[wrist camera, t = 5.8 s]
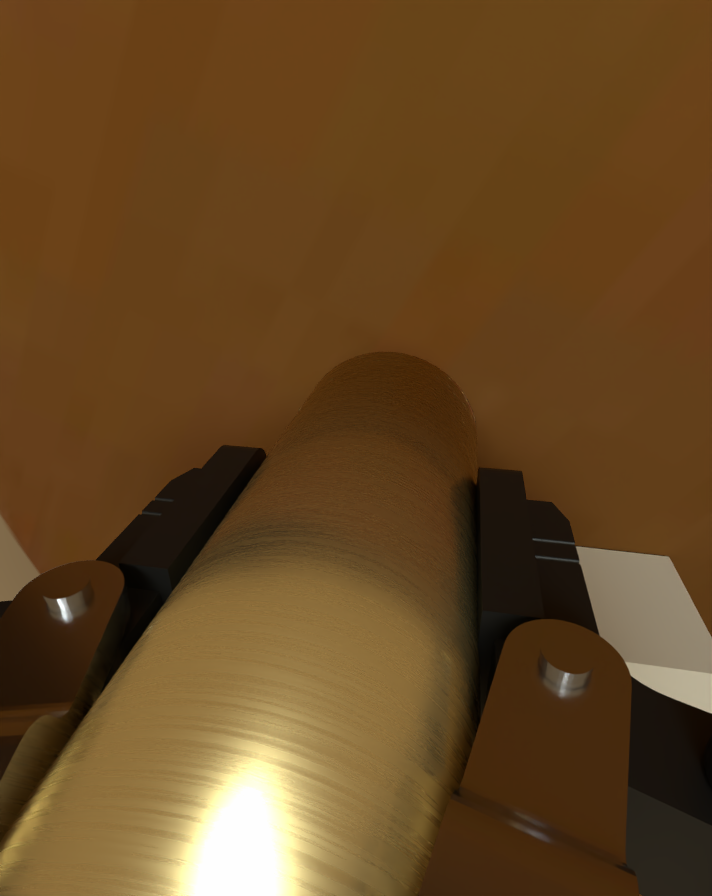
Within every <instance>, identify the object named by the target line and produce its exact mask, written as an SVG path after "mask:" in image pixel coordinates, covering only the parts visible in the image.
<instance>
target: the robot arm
mask: <svg viewBox="0 0 712 896" xmlns="http://www.w3.org/2000/svg"><path fill="white" fill-rule="evenodd" d="M265 459H266V453H265V451H264V450H263V449H262V448H252V447H240V446H229V445H223V446H221V447H220V448H219V449H218V451H217V452H216V453H215V454H214V455H213V456H212V457H211V458H210V460H209V461H208V462H207V463H206V464H205V465H204V466H203V467H202V469H199V468H193V469H191V470H190V471H188V472H186V473H184V474H182V475H181V476H179V477H177V478H175V479H173V480H171V481H170V482H169V483H168V484H167V485H166V486H165V487H164V488H163V490H162V491H161V492H160V493H159V494H158V495H157V496H156V497H155V501H151V502H150V503H149V504H148V505H147V506H146V507H145V509H144V510H143V511H142V515H140V514H139V515H138V516H137V517H136V518H135V519H134V520H133V521H132V522H131V523H130V524H129V525H128V526H127V528H126V529H125V530H124V531H123V532H122V533H121V534H120V535H119V536H118V537H117V538H116V539H115V540H114V541H113V542H112V543H111V544H110V545H109V547H108V548H107V549H106V550H105V551H104V552H103V553H102V554H101V555H100V556H99V557H98V558H97V559H96V560H87V561H78V562H73V563H68V564H65V565H62V566H59V567H56V568H53V569H51V570H49V571H47V572H45V573H43V574H41V575H39V576H38V577H36V578H34V579H33V580H32V581H30V582H29V583H28V584H27V585H25V586H24V587H23V588H22V589H21V590H20V591H19V593H18V594H17V595H16V596H15V598H14V599H13V600H12V601H2V602H0V842H1V840H2V839H3V837H4V835H5V834H6V832H7V831H8V829H9V827H10V826H11V824H12V823H13V821H14V820H15V818H16V816H17V815H18V813H19V812H20V810H21V809H22V807H23V805H24V804H25V802H26V801H27V799H28V797H29V796H30V794H31V793H32V791H33V790H34V789H35V787H36V786H37V784H38V783H39V781H40V780H41V779H42V777H43V776H44V774H45V773H46V771H47V770H48V769H49V767H50V766H51V764H52V763H53V761H54V760H55V759H56V757H57V756H58V754H59V753H60V751H61V750H62V749H63V747H64V746H65V744H66V743H67V741H68V740H69V739H70V737H71V736H72V734H73V733H74V731H75V730H76V729H77V727H78V726H79V724H80V723H81V721H82V720H83V719H84V717H85V716H86V714H87V713H88V711H89V710H90V709H91V707H92V706H93V704H94V703H95V701H96V700H97V699H98V697H99V696H100V694H101V693H102V691H103V690H104V689H105V687H106V686H107V684H108V683H109V681H110V680H111V679H112V677H113V676H114V674H115V673H116V671H117V670H118V669H119V667H120V666H121V664H122V663H123V661H124V660H125V659H126V657H127V656H128V654H129V653H130V651H131V650H132V649H133V647H134V646H135V644H136V643H137V641H138V640H139V639H140V637H141V636H142V634H143V633H144V631H145V630H146V629H147V627H148V626H149V624H150V623H151V621H152V620H153V619H154V617H155V616H156V614H157V613H158V611H159V610H160V609H161V607H162V606H163V604H164V603H165V601H166V600H167V599H168V597H169V596H170V594H171V593H172V591H173V590H174V589H175V587H176V586H177V584H178V583H179V581H180V580H181V579H182V577H183V576H184V574H185V573H186V571H187V570H188V569H189V567H190V566H191V564H192V563H193V561H194V560H195V559H196V557H197V556H198V554H199V553H200V551H201V550H202V549H203V547H204V546H205V544H206V543H207V541H208V540H209V539H210V537H211V536H212V534H213V533H214V531H215V530H216V529H217V527H218V526H219V524H220V523H221V521H222V520H223V519H224V517H225V516H226V514H227V513H228V511H229V510H230V509H231V507H232V506H233V504H234V503H235V501H236V500H237V499H238V497H239V496H240V494H241V493H242V491H243V490H244V489H245V487H246V486H247V484H248V483H249V481H250V480H251V479H252V477H253V476H254V474H255V473H256V471H257V470H258V469H259V467H260V466H261V464H262V463H263V461H264V460H265ZM476 517H477V635H478V653H479V660H480V709H481V720H480V724H479V727H478V730H477V733H476V737H475V740H474V743H473V746H472V750H471V753H470V756H469V759H468V763H467V766H466V769H465V772H464V775H463V778H462V781H461V784H460V787H459V789H458V790H456V789H455V790H454V792H453V793H452V795H451V798H450V800H449V802H448V805H447V808H446V811H445V813H444V816H443V819H442V822H441V825H440V828H439V832H438V835H437V838H436V841H435V844H434V847H433V850H432V853H431V857H430V860H429V863H428V866H427V869H426V872H425V875H424V879H423V882H422V885H421V888H420V891H419V894H418V896H639V894H641V895H643V896H712V714H711V713H709V712H706V711H703V710H701V709H698V708H696V707H693V706H691V705H688V704H686V703H683V702H681V701H678V700H675V699H673V698H670V697H668V696H666V695H663V694H661V693H659V692H657V691H655V690H653V689H651V688H649V687H647V686H646V685H644V684H642V683H641V682H639V681H638V680H636V679H635V678H633V677H632V676H631V675H630V672H629V669H628V667H627V665H626V663H625V661H624V659H623V658H622V657H621V655H620V654H619V653H618V651H617V650H616V649H615V648H614V647H613V646H612V645H611V644H610V643H608V642H607V641H606V640H604V639H603V638H602V637H600V635H599V631H598V627H597V624H596V620H595V616H594V612H593V609H592V605H591V601H590V597H589V594H588V590H587V586H586V582H585V579H584V575H583V571H582V567H581V564H579V556H578V552H577V549H576V546H574V544H575V541H574V537H573V534H572V530H571V526H570V522H569V520H568V519H567V518H566V517H565V516H564V515H563V514H562V513H561V512H560V511H559V510H558V509H557V508H556V506H555V505H554V504H553V503H552V502H544V501H533V500H526V494H525V487H524V481H523V475H522V471H514V470H503V469H491V468H480V467H479V469H478V475H477V483H476Z"/></svg>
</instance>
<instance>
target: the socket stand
mask: <svg viewBox="0 0 712 896" xmlns="http://www.w3.org/2000/svg"><path fill="white" fill-rule="evenodd" d="M576 549H577V552H578V556H579V564H581V567H582V571H583V575H584V579H585V582H586V586H587V590H588V594H589V597H590V601H591V605H592V609H593V612H594V616H595V620H596V624H597V627H598V631H599V635H600V637H602V638H603V639H604V640H606V641H607V642H608V643H610V644H611V645H612V646H613V647H614V648H615V649H616V650H617V651H618V653H619V654H620V655H621V657H622V658H623V659H624V661H625V663H626V665H627V667H628V669H629V672H630V675H631V676H632V677H633V678H635V679H636V680H638V681H639V682H641V683H642V684H644V685H646V686H647V687H649V688H651V689H653V690H655V691H657V692H659V693H661V694H663V695H666V696H668V697H670V698H673V699H675V700H678V701H681V702H683V703H686V704H688V705H691V706H693V707H696V708H698V709H701V710H703V711H706V712H709V713H711V714H712V637H711V636H710V634H709V632H708V630H707V628H706V626H705V624H704V622H703V620H702V618H701V617H700V615H699V613H698V611H697V609H696V607H695V605H694V603H693V601H692V600H691V598H690V596H689V594H688V592H687V590H686V588H685V586H684V584H683V582H682V581H681V579H680V577H679V575H678V573H677V571H676V569H675V567H674V565H673V563H672V562H671V560H670V558H669V557H667V556H658V555H649V554H640V553H631V552H622V551H613V550H604V549H596V548H587V547H578V546H576Z"/></svg>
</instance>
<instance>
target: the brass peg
mask: <svg viewBox="0 0 712 896" xmlns="http://www.w3.org/2000/svg"><path fill="white" fill-rule="evenodd" d="M476 483H477V429H476V421H475V417H474V414H473V410H472V408H471V406H470V403H469V401H468V399H467V398H466V396H465V394H464V393H463V391H462V390H461V389H460V387H459V386H458V385H457V384H456V382H455V381H454V380H452V379H451V378H450V377H449V376H448V375H447V374H446V373H445V372H443V371H442V370H440V369H439V368H438V367H436V366H434V365H433V364H431V363H429V362H427V361H425V360H422V359H420V358H417V357H415V356H411V355H407V354H403V353H395V352H375V353H368V354H364V355H360V356H356V357H354V358H351V359H349V360H347V361H344V362H343V363H341V364H339V365H338V366H336V367H334V368H333V369H332V370H331V371H330V372H328V373H327V374H326V375H325V376H324V377H323V378H322V379H321V381H320V382H319V383H318V384H317V386H316V387H315V389H314V390H313V391H312V393H311V394H310V396H309V397H308V399H307V400H306V401H305V403H304V404H303V406H302V407H301V409H300V410H299V411H298V413H297V414H296V416H295V417H294V419H293V420H292V421H291V423H290V424H289V426H288V427H287V429H286V430H285V431H284V433H283V434H282V436H281V437H280V439H279V440H278V441H277V443H276V444H275V446H274V447H273V449H272V450H271V451H270V453H269V454H268V456H267V457H266V459H265V460H264V461H263V463H262V464H261V466H260V467H259V469H258V470H257V471H256V473H255V474H254V476H253V477H252V479H251V480H250V481H249V483H248V484H247V486H246V487H245V489H244V490H243V491H242V493H241V494H240V496H239V497H238V499H237V500H236V501H235V503H234V504H233V506H232V507H231V509H230V510H229V511H228V513H227V514H226V516H225V517H224V519H223V520H222V521H221V523H220V524H219V526H218V527H217V529H216V530H215V531H214V533H213V534H212V536H211V537H210V539H209V540H208V541H207V543H206V544H205V546H204V547H203V549H202V550H201V551H200V553H199V554H198V556H197V557H196V559H195V560H194V561H193V563H192V564H191V566H190V567H189V569H188V570H187V571H186V573H185V574H184V576H183V577H182V579H181V580H180V581H179V583H178V584H177V586H176V587H175V589H174V590H173V591H172V593H171V594H170V596H169V597H168V599H167V600H166V601H165V603H164V604H163V606H162V607H161V609H160V610H159V611H158V613H157V614H156V616H155V617H154V619H153V620H152V621H151V623H150V624H149V626H148V627H147V629H146V630H145V631H144V633H143V634H142V636H141V637H140V639H139V640H138V641H137V643H136V644H135V646H134V647H133V649H132V650H131V651H130V653H129V654H128V656H127V657H126V659H125V660H124V661H123V663H122V664H121V666H120V667H119V669H118V670H117V671H116V673H115V674H114V676H113V677H112V679H111V680H110V681H109V683H108V684H107V686H106V687H105V689H104V690H103V691H102V693H101V694H100V696H99V697H98V699H97V700H96V701H95V703H94V704H93V706H92V707H91V709H90V710H89V711H88V713H87V714H86V716H85V717H84V719H83V720H82V721H81V723H80V724H79V726H78V727H77V729H76V730H75V731H74V733H73V734H72V736H71V737H70V739H69V740H68V741H67V743H66V744H65V746H64V747H63V749H62V750H61V751H60V753H59V754H58V756H57V757H56V759H55V760H54V761H53V763H52V764H51V766H50V767H49V769H48V770H47V771H46V773H45V774H44V776H43V777H42V779H41V780H40V781H39V783H38V784H37V786H36V787H35V789H34V790H33V791H32V793H31V794H30V796H29V797H28V799H27V801H26V802H25V804H24V805H23V807H22V809H21V810H20V812H19V813H18V815H17V816H16V818H15V820H14V821H13V823H12V824H11V826H10V827H9V829H8V831H7V832H6V834H5V835H4V837H3V839H2V840H1V842H0V896H418V894H419V891H420V888H421V885H422V882H423V879H424V875H425V872H426V869H427V866H428V863H429V860H430V857H431V853H432V850H433V847H434V844H435V841H436V838H437V835H438V832H439V828H440V825H441V822H442V819H443V816H444V813H445V811H446V808H447V805H448V802H449V800H450V798H451V795H452V793H453V792H454V790H455V789H456V790H458V789H459V787H460V784H461V781H462V778H463V775H464V772H465V769H466V766H467V763H468V759H469V756H470V753H471V750H472V746H473V743H474V740H475V737H476V733H477V730H478V727H479V724H480V720H481V709H480V660H479V653H478V635H477V517H476Z"/></svg>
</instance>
